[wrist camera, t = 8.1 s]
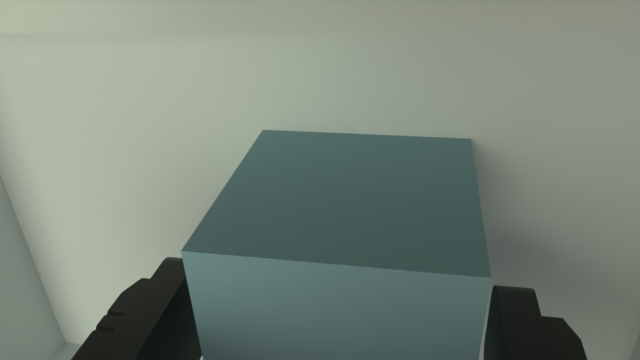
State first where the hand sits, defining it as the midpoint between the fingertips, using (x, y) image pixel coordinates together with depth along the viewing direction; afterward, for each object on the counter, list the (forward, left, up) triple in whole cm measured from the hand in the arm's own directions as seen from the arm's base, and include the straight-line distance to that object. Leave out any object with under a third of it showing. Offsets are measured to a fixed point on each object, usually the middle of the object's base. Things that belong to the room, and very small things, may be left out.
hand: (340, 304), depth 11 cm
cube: (0, 0, -3) cm, 3 cm away
